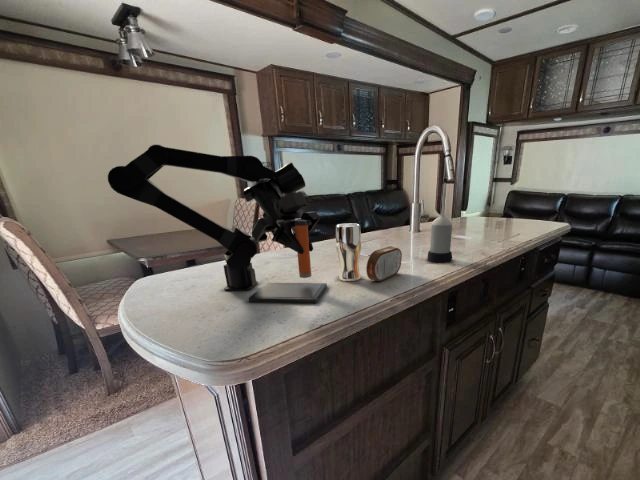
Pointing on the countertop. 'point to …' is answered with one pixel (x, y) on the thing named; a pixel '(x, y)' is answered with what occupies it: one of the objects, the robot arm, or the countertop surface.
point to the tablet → (289, 293)
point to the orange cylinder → (303, 239)
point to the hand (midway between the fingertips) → (307, 251)
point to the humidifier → (441, 237)
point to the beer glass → (348, 250)
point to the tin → (384, 263)
